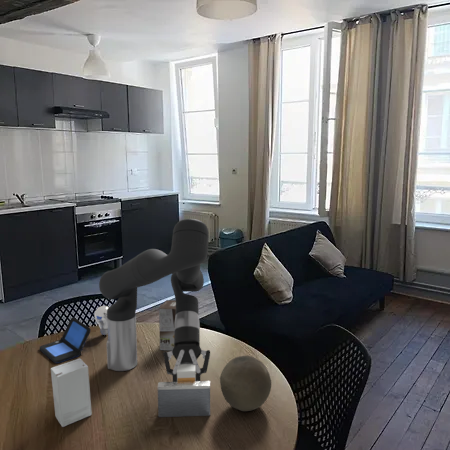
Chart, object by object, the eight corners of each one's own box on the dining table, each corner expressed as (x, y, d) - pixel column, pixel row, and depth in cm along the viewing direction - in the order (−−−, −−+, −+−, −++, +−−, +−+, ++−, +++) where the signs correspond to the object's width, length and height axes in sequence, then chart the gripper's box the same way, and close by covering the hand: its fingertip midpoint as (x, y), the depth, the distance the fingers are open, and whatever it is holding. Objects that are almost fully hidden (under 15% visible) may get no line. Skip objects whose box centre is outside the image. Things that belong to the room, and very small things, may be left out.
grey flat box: (158, 417, 110) (157, 387, 108) (159, 411, 112) (158, 382, 111) (210, 415, 110) (210, 385, 109) (210, 410, 113) (210, 380, 111)
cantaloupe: (221, 394, 120) (221, 346, 118) (269, 395, 120) (269, 347, 118) (219, 425, 107) (218, 371, 104) (273, 426, 106) (274, 372, 104)
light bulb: (117, 333, 163) (116, 304, 161) (105, 340, 156) (104, 310, 154) (103, 330, 165) (102, 302, 164) (91, 337, 159) (90, 307, 157)
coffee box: (176, 351, 147) (175, 309, 145) (159, 350, 148) (158, 308, 146) (182, 340, 156) (181, 300, 154) (166, 339, 157) (165, 299, 155)
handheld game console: (38, 350, 149) (36, 326, 147) (73, 339, 158) (72, 316, 157) (56, 365, 138) (54, 339, 136) (93, 352, 147) (91, 328, 146)
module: (177, 405, 113) (177, 371, 111) (178, 396, 116) (177, 364, 115) (195, 404, 113) (195, 371, 111) (195, 396, 117) (195, 363, 115)
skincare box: (84, 406, 115) (81, 356, 112) (92, 416, 110) (89, 365, 108) (53, 417, 109) (49, 366, 107) (60, 429, 105) (57, 375, 103)
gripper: (161, 325, 118) (159, 386, 109) (211, 324, 119) (212, 384, 109) (163, 334, 124) (161, 393, 115) (210, 333, 125) (212, 391, 116)
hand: (186, 388), depth 112 cm, fingers closed on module, 5 cm apart
